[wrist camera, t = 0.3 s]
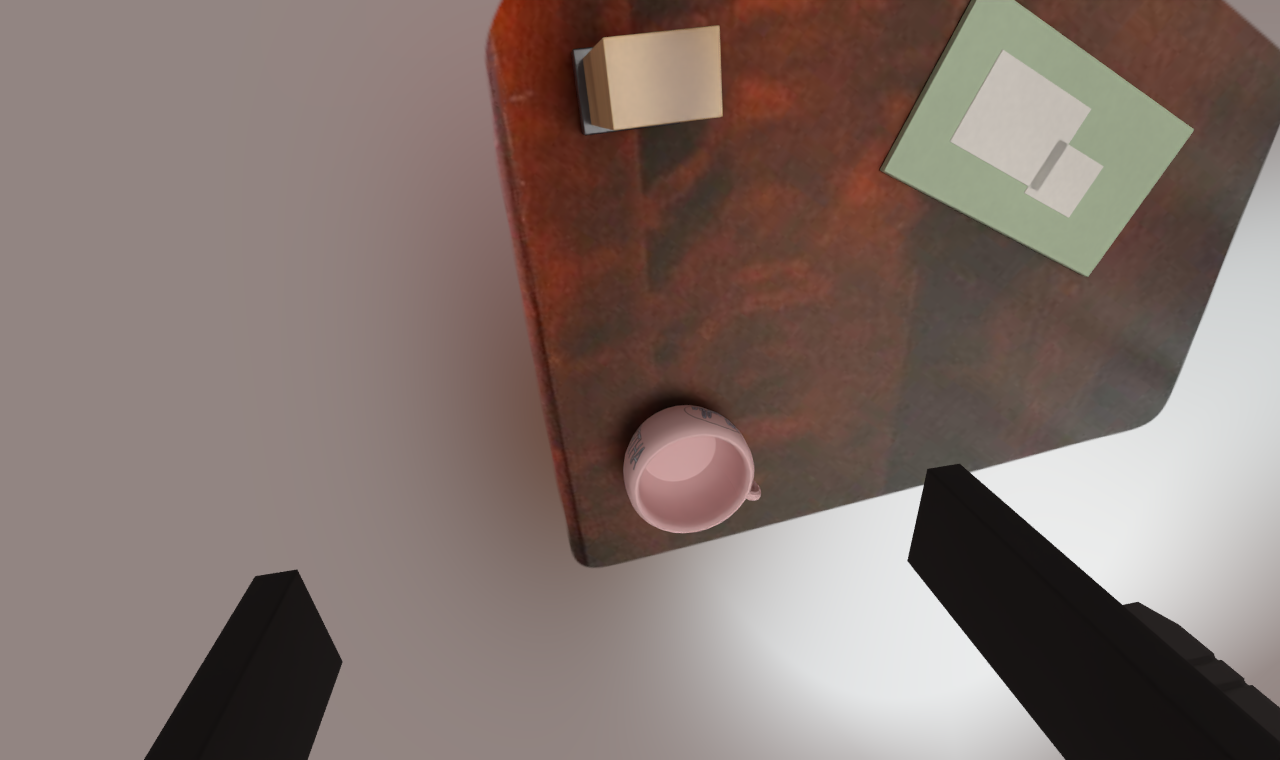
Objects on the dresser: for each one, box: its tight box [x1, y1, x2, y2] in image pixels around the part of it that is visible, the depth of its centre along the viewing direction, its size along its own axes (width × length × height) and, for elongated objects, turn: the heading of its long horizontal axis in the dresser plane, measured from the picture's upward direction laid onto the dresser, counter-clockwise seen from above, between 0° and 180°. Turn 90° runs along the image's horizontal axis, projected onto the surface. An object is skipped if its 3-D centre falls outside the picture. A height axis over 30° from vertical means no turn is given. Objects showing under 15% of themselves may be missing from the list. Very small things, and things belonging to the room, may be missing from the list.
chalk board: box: [880, 0, 1194, 277], centre depth 40 cm, size 22×12×1 cm, turn 67°
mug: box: [623, 405, 761, 533], centre depth 44 cm, size 12×10×6 cm
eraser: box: [571, 25, 723, 135], centre depth 29 cm, size 6×4×12 cm
